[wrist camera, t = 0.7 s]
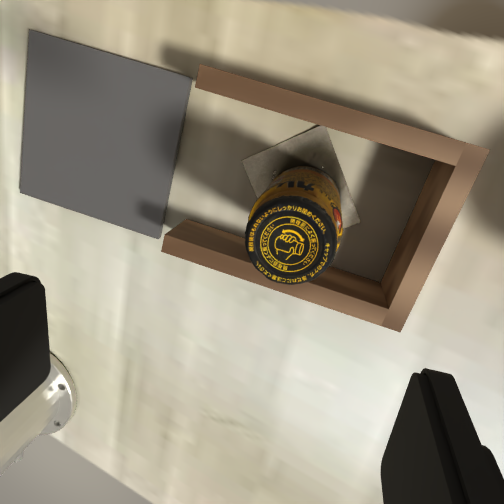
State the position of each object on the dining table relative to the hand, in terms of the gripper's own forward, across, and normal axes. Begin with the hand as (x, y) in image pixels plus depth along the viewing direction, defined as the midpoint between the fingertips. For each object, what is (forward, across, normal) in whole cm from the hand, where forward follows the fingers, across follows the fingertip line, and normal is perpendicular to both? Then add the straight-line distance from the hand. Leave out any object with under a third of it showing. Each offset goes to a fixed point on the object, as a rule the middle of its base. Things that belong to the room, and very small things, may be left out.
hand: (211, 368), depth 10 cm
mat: (+24, +18, -1) cm, 30 cm away
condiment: (+25, 0, +1) cm, 25 cm away
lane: (+25, 0, +1) cm, 25 cm away
